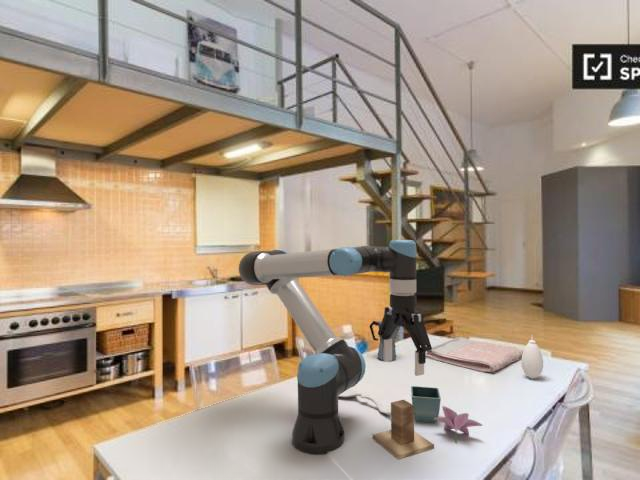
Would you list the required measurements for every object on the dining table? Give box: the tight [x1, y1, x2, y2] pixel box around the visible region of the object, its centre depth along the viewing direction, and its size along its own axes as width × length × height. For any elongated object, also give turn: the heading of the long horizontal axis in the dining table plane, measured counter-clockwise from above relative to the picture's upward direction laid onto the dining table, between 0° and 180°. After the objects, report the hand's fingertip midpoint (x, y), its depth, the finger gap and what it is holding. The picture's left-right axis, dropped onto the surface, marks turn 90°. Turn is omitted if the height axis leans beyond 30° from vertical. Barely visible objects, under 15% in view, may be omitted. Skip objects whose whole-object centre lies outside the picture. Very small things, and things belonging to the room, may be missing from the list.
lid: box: [372, 399, 435, 460], centre depth 110 cm, size 12×12×11 cm
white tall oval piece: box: [521, 335, 544, 380], centre depth 161 cm, size 8×8×18 cm
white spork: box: [338, 387, 391, 416], centre depth 138 cm, size 9×32×4 cm, turn 43°
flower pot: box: [410, 385, 442, 424], centre depth 125 cm, size 9×9×9 cm
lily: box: [434, 405, 483, 444], centre depth 113 cm, size 12×12×10 cm
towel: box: [426, 336, 524, 373], centre depth 189 cm, size 36×34×6 cm
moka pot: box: [369, 320, 402, 362], centre depth 189 cm, size 10×15×20 cm, turn 89°
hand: (402, 367), depth 113 cm, fingers open, 13 cm apart
